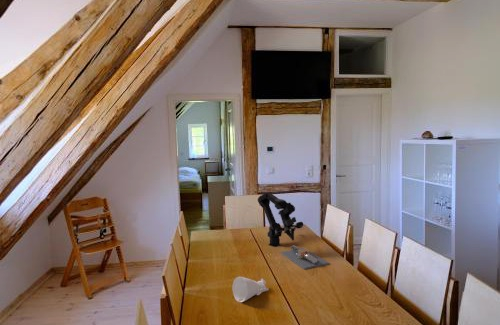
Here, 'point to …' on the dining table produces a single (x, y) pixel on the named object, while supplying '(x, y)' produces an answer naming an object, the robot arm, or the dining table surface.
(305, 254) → the lever
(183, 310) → the dining table surface
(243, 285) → the rocket engine
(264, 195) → the robot arm
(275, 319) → the dining table surface
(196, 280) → the dining table surface
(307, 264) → the mounting board
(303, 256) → the valve
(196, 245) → the dining table surface
